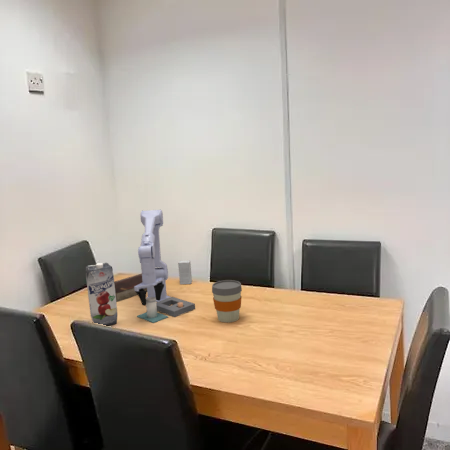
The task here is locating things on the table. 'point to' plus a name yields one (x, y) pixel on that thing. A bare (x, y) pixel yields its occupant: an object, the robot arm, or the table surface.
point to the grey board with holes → (174, 306)
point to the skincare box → (185, 272)
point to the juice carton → (101, 293)
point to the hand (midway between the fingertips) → (151, 302)
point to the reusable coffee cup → (227, 299)
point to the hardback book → (127, 287)
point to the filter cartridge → (151, 307)
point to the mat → (153, 320)
